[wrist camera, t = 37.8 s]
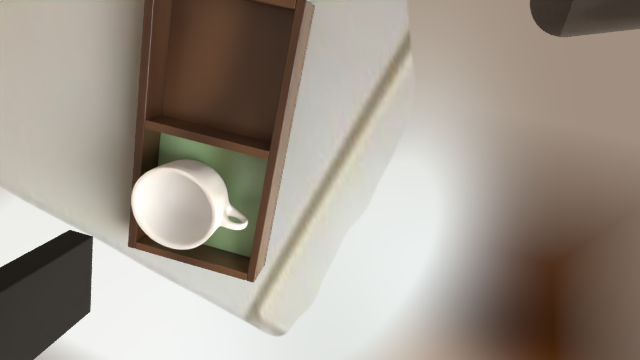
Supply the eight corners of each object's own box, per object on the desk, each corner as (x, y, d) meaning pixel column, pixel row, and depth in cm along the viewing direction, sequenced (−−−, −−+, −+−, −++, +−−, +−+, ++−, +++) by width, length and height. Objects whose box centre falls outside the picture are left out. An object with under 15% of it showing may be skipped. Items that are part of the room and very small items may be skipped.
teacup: (157, 209, 41) (124, 231, 36) (171, 140, 39) (139, 153, 34) (247, 245, 41) (227, 271, 36) (268, 177, 38) (250, 195, 33)
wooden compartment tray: (315, 5, 34) (306, 0, 31) (264, 264, 42) (253, 283, 39) (170, -26, 35) (146, -35, 32) (148, 231, 43) (127, 246, 40)
